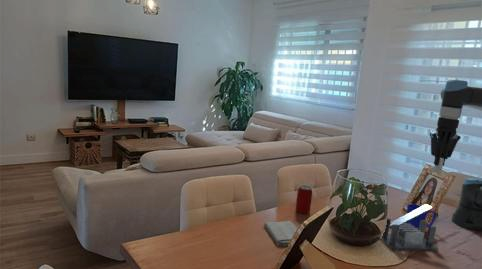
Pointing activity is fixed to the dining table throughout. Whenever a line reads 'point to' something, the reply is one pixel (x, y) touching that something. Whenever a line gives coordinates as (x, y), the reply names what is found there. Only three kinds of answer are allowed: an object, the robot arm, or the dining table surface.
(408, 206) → the mug
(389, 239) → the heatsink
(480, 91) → the robot arm
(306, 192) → the beverage can
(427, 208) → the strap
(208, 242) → the dining table surface
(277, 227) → the washcloth
